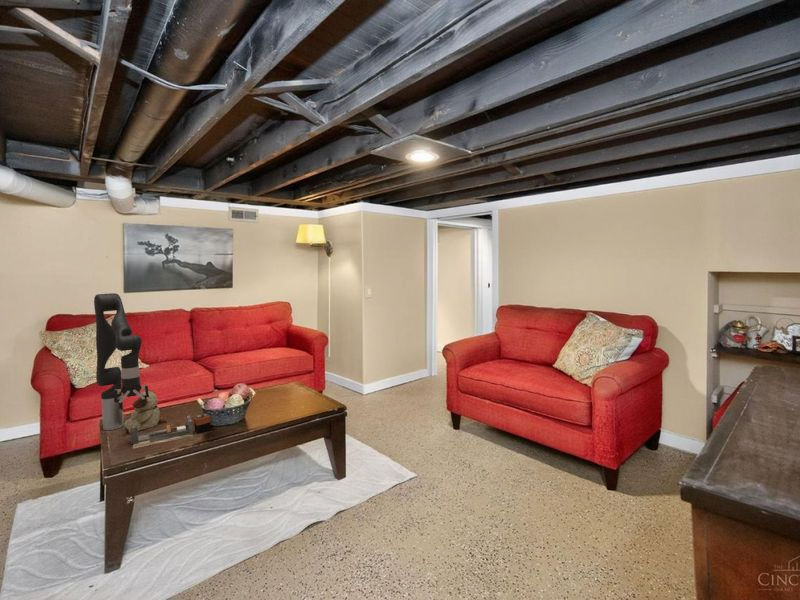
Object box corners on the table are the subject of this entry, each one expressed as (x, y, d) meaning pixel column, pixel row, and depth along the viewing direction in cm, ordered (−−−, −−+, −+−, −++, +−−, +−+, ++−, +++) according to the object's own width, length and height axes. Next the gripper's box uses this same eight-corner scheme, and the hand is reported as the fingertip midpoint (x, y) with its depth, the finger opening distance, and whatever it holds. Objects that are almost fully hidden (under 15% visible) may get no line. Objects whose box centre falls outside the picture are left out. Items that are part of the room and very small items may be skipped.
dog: (133, 421, 230) (131, 387, 228) (170, 416, 236) (169, 383, 235) (122, 437, 208) (120, 400, 206) (163, 432, 215) (161, 396, 213)
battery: (194, 433, 212) (193, 415, 211) (207, 430, 217) (206, 412, 217) (198, 436, 209) (197, 417, 209) (211, 432, 215) (210, 414, 214)
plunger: (131, 440, 200) (130, 428, 200) (170, 432, 210) (169, 421, 209) (131, 444, 196) (130, 431, 196) (170, 436, 206) (170, 424, 205)
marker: (176, 432, 211) (176, 427, 211) (185, 430, 213) (185, 425, 213) (177, 435, 208) (177, 429, 207) (186, 433, 210) (185, 428, 210)
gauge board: (133, 440, 205) (132, 424, 204) (190, 428, 219) (189, 414, 218) (133, 450, 193) (132, 434, 192) (193, 437, 207) (192, 422, 207)
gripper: (147, 372, 203) (149, 403, 205) (113, 376, 196) (115, 408, 197) (148, 375, 197) (149, 407, 199) (112, 380, 189) (114, 413, 191)
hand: (132, 407), depth 198 cm, fingers open, 8 cm apart
